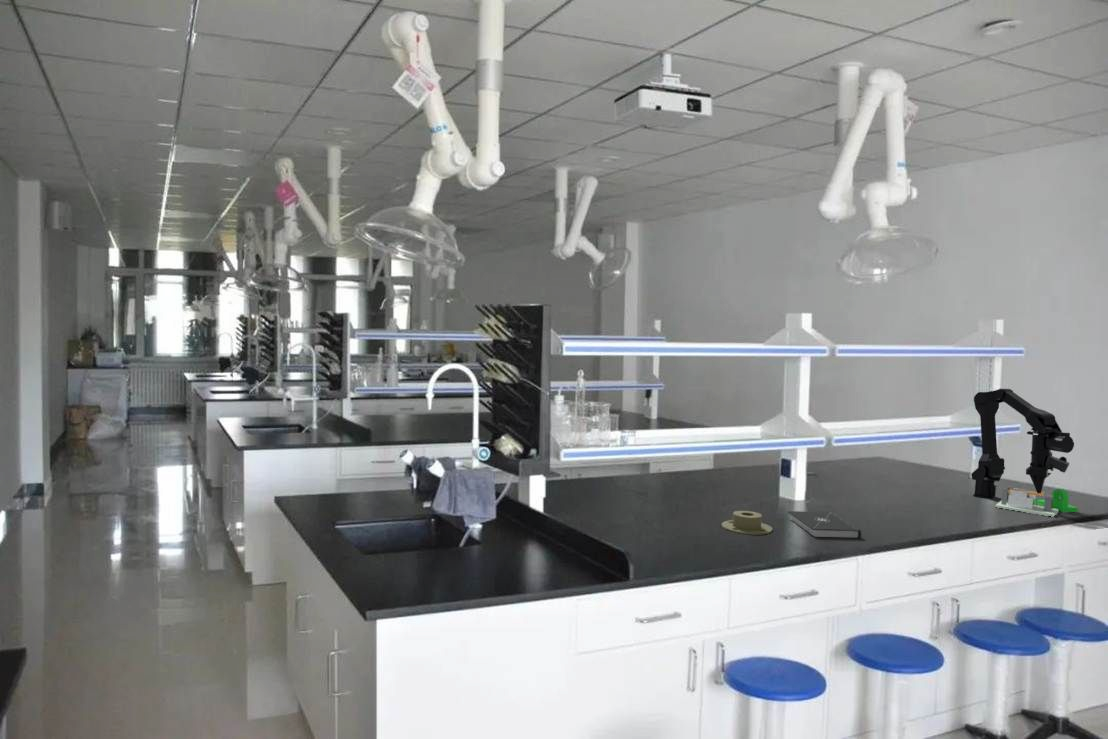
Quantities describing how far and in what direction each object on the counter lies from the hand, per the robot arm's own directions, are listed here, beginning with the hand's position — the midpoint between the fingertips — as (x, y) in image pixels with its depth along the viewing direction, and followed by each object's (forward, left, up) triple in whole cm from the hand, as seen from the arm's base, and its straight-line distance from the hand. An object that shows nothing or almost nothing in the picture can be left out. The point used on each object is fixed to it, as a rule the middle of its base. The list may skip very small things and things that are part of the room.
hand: (1039, 492), depth 288 cm
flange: (-63, -99, -7) cm, 118 cm away
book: (-46, -82, -7) cm, 94 cm away
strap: (-5, 0, -1) cm, 5 cm away
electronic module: (-3, 0, -6) cm, 7 cm away
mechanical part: (+5, +11, -7) cm, 14 cm away
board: (-3, 0, -7) cm, 7 cm away
